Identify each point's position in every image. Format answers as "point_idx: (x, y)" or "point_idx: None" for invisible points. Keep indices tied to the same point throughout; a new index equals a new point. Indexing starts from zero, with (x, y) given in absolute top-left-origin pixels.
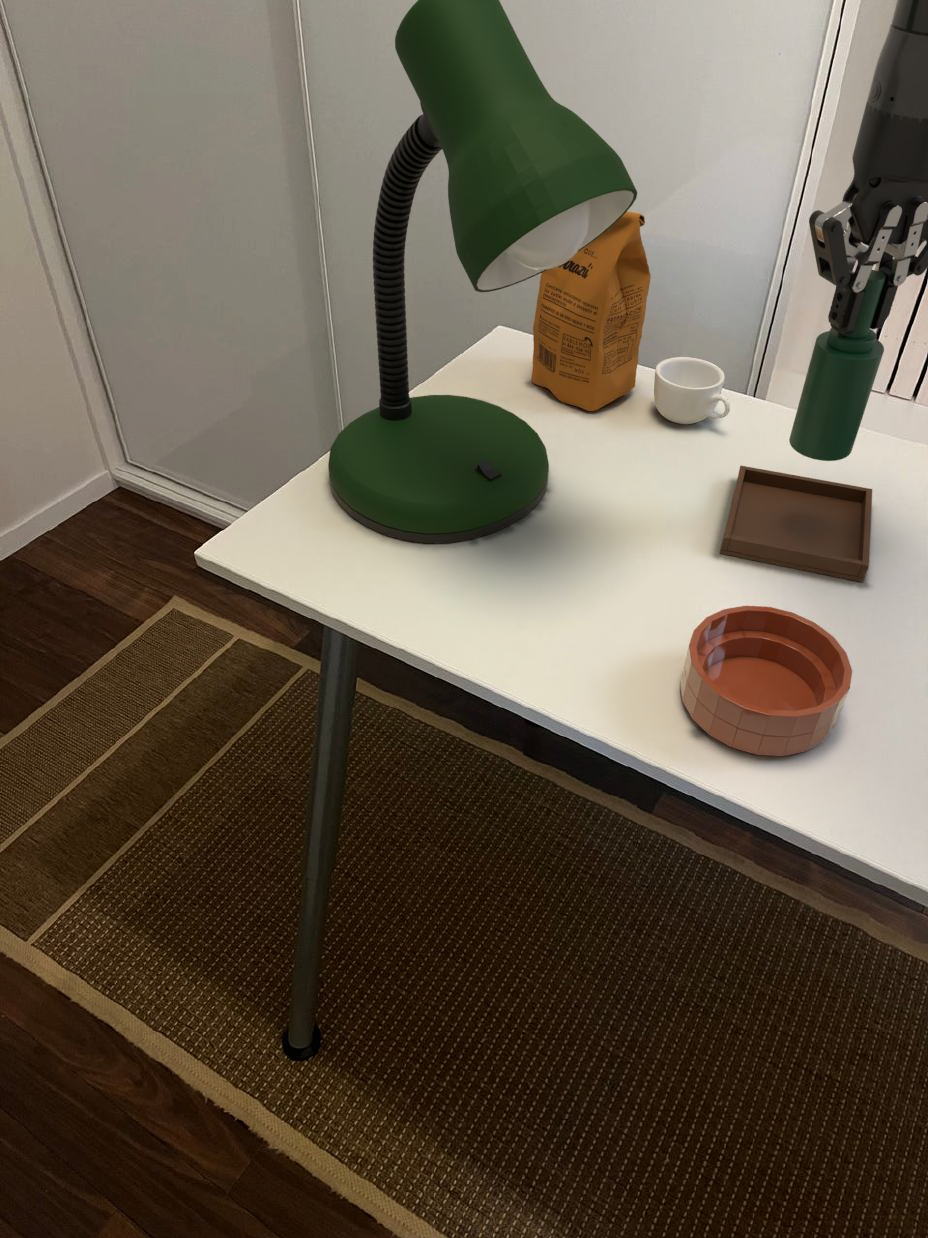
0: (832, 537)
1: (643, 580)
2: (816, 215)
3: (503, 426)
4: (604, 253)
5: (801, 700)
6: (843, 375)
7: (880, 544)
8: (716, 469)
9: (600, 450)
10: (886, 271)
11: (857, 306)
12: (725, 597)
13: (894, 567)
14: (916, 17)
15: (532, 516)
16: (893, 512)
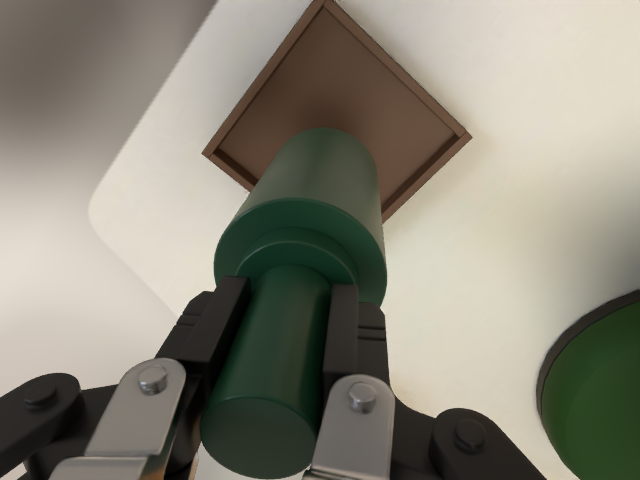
0: (305, 95)
1: (602, 119)
2: None
3: (609, 423)
4: None
5: None
6: (358, 201)
7: (244, 62)
8: None
9: (456, 361)
10: (186, 433)
11: (338, 334)
12: (528, 40)
13: (257, 6)
14: None
15: (628, 286)
16: (183, 118)
